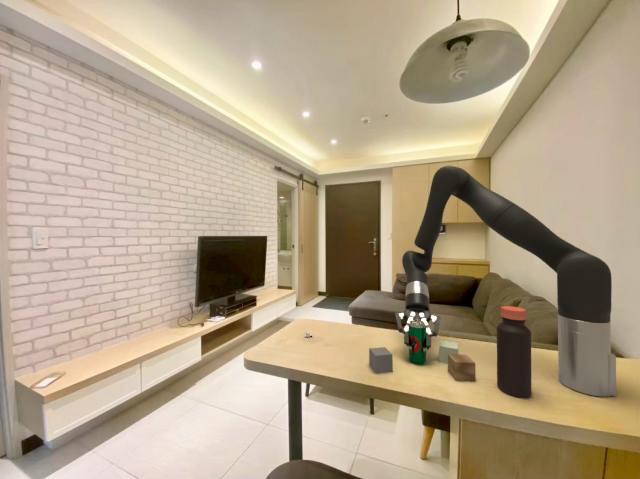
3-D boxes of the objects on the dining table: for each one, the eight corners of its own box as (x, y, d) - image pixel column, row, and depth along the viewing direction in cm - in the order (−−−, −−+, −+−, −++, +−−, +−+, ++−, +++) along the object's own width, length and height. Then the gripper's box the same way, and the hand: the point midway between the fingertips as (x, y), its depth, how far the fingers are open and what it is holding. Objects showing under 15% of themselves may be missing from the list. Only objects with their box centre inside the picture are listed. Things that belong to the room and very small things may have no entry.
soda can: (428, 366, 75) (427, 325, 75) (410, 364, 76) (409, 324, 76) (424, 358, 80) (424, 319, 80) (407, 357, 81) (407, 319, 81)
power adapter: (309, 336, 100) (309, 328, 100) (313, 338, 98) (313, 330, 98) (303, 338, 98) (303, 330, 98) (308, 340, 96) (308, 332, 96)
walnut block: (466, 372, 72) (466, 354, 72) (475, 382, 67) (475, 362, 67) (447, 371, 72) (447, 353, 73) (455, 381, 68) (455, 362, 68)
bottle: (538, 394, 61) (537, 310, 62) (520, 401, 59) (520, 313, 59) (507, 380, 68) (507, 304, 68) (490, 386, 65) (490, 306, 65)
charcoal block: (385, 363, 77) (385, 347, 77) (392, 372, 72) (392, 354, 72) (369, 365, 76) (369, 348, 76) (375, 373, 71) (375, 355, 71)
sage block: (458, 359, 80) (458, 343, 80) (457, 366, 75) (457, 349, 76) (440, 355, 82) (440, 340, 82) (439, 362, 78) (439, 345, 78)
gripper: (394, 290, 88) (391, 338, 77) (440, 293, 83) (445, 344, 72) (395, 302, 93) (393, 349, 81) (439, 305, 88) (443, 356, 76)
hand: (417, 346), depth 77 cm, fingers closed on soda can, 5 cm apart
